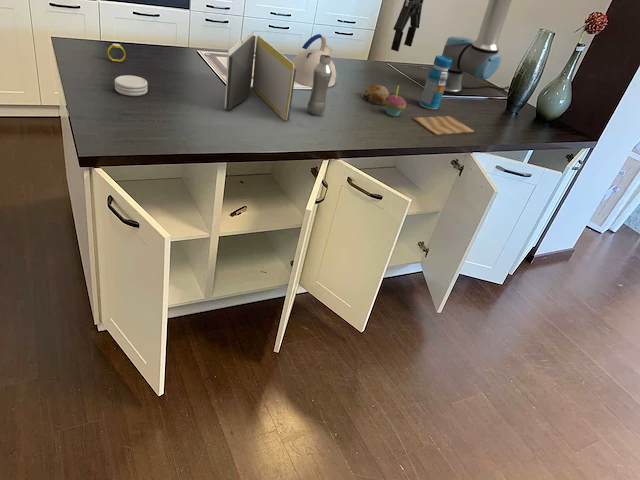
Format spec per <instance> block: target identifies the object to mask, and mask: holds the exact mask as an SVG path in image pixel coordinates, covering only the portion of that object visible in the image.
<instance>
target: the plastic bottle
mask: <svg viewBox="0 0 640 480" xmlns="http://www.w3.org/2000/svg"><path fill="white" fill-rule="evenodd" d="M330 60H332V57H331V56H330V55H321V56H320V59H319V61H320V63H319V64H318V65H317V66H316V67H315V68H314V72H313V87H311V92H310V96H309V99H308V102H307V111H308V112H309V113H310V114H312V115H317V116H318V115H323V113H324V112H325V110H326V107H327V101H326V100H327V93H328V88H329V87H328V85H329V82H330V79H331V75H332V71H331V68H330V65H329V63H330Z"/></svg>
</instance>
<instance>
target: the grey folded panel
mask: <svg viewBox="0 0 640 480" xmlns="http://www.w3.org/2000/svg"><path fill="white" fill-rule="evenodd" d="M226 60H227V61H226V77H225V91H224V92H225V94H224V110H227V109H228V110H230V109H231V108H233V107H234V106H237V105H238V104H240V103H241V102H242V101H244V100H245V98H246V97H247V96H248V94H249V93H250V92H251V88H252V89H253V90H254V91H255V92H256V93H257V95H259V96H260V97H261V98H262V99H263V101H265V103H266V104H267V105H268V106H269V107H270V108H271V109H272V110H273V111H274V112H275V113H276V114H277V115H278V116H279V117H280V118H281V119H282V120H283V121H284V122H286V121H289V120H290V115H291V109H292V101H293V93H294V88H295V87H294V86H295V74H296V69H295V68H294V64H293V63H292V60H290V59H289V58H287V57H286V56H285V55H284V54H283V53H281V51H279V50H277V48H275V47H274V46H273V45H271V44H270V43H269V42H268V41H267V40H265V39H264V38H263V37H261V36H260V35H257V36H256V35H254V30H251V31H249V33H247V34H246V35H245V36H244V37H243V38H242V39H240V40H239V41H237V43H235V45H233V46H232V47H230V48H229V49H228V51H227V59H226Z"/></svg>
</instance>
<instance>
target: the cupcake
mask: <svg viewBox="0 0 640 480" xmlns="http://www.w3.org/2000/svg"><path fill="white" fill-rule="evenodd" d="M399 89H400V86H399V84H397V86H396V91H395V94H389V96H387V97H386V98H385V104H386V105H385V107H386V108H385V109H386V114H387V115H389V116H391V117H398V116H399V115H400V114H401V112H402V111H403V110H404V109H405V108H407V101H406V99H404V97H402V96H401V95H399V94H398V93H399Z"/></svg>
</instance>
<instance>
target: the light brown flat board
mask: <svg viewBox="0 0 640 480" xmlns="http://www.w3.org/2000/svg"><path fill="white" fill-rule="evenodd" d="M412 120H413V121H415V122H416V123H417V124H418V125H420V126H422V128H425V129H427V130H428V132H431V133H432V134H433V135H434V136H441V135H454V134H456V135H458V134H470V133H475V130H474V129H472V128H471V127H469V126H467V125H465V124H464V123H462V122H461V121H459V120H457V119H455V118H454V117H453V116H451V115H443V116H422V117H412Z"/></svg>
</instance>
